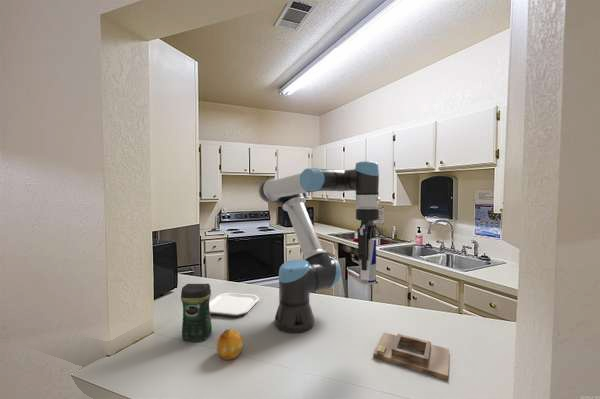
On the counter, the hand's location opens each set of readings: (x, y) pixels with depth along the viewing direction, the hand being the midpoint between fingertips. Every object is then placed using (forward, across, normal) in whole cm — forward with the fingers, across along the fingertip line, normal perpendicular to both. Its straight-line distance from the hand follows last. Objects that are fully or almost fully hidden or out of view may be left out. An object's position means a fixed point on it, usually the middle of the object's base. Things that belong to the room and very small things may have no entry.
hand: (367, 276), depth 89 cm
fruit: (+22, -29, +35) cm, 51 cm away
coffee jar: (+22, -27, +53) cm, 63 cm away
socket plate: (+22, -1, -14) cm, 26 cm away
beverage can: (+2, 0, 0) cm, 2 cm away
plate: (+22, -3, +60) cm, 64 cm away
